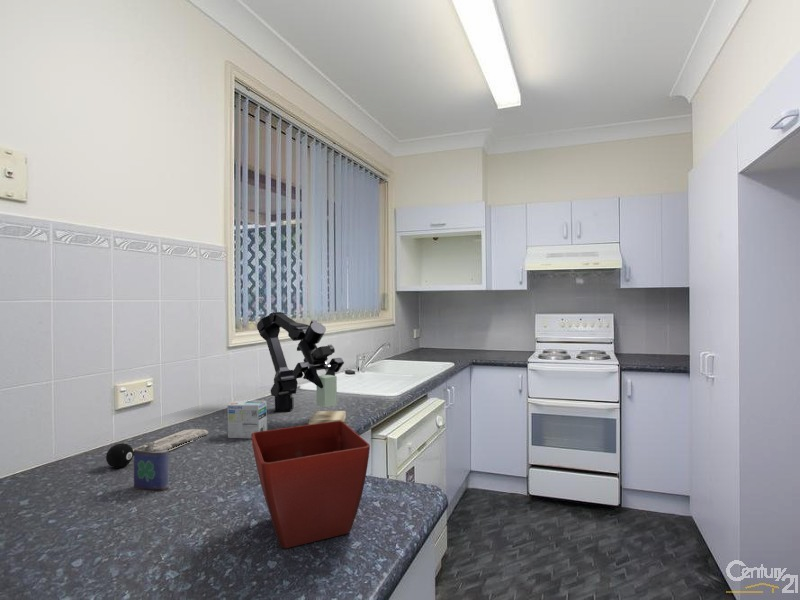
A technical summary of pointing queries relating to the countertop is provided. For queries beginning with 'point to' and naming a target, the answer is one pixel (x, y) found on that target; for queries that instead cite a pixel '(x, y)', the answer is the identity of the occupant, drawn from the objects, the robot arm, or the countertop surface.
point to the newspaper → (177, 439)
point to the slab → (327, 416)
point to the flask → (151, 468)
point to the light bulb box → (246, 418)
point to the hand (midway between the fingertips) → (328, 386)
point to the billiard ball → (119, 455)
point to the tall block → (327, 391)
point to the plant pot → (311, 479)
